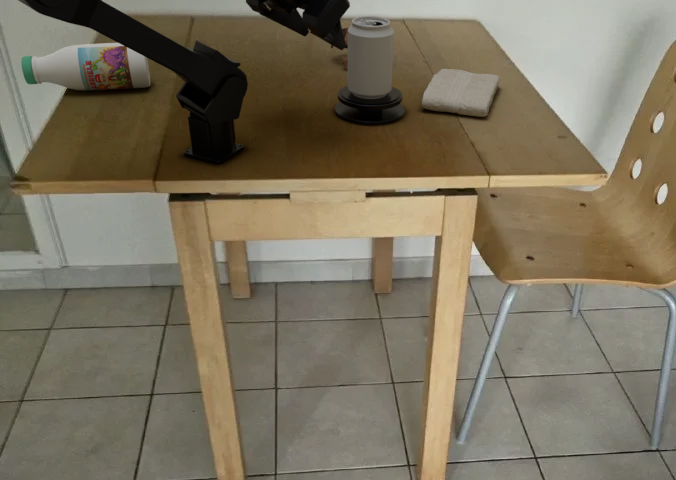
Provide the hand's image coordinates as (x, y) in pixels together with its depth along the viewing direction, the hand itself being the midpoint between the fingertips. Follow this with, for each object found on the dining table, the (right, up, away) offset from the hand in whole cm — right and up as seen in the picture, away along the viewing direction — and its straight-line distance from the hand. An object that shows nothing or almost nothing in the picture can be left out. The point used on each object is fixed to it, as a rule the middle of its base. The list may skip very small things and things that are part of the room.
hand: (324, 40), depth 111 cm
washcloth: (+23, -4, +19) cm, 30 cm away
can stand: (+7, -8, +12) cm, 16 cm away
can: (+7, -6, +10) cm, 13 cm away
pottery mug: (+4, +6, +33) cm, 34 cm away
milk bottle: (-33, +1, +15) cm, 36 cm away
